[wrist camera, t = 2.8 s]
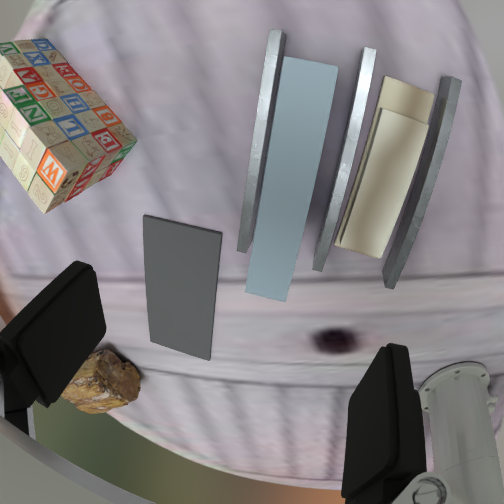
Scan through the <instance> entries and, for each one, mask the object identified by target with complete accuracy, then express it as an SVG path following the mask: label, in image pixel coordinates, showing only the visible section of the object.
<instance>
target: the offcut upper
mask: <svg viewBox="0 0 504 504" xmlns="http://www.w3.org/2000/svg"><path fill="white" fill-rule="evenodd" d="M428 128H429V125H427V124H424V123H422V122H419V121H417V120H414V119H412V118H409V117H406V116H404V115H401V114H398V113H395V112H393V111H390V110H387V109H384V108H381V107H380V110H379V113H378V117H377V121H376V124H375V128H374V132H373V135H372V139H371V142H370V146H369V149H368V152H367V156H366V159H365V162H364V166H363V169H362V172H361V176H360V179H359V182H358V185H357V188H356V191H355V194H354V198H353V201H352V204H351V207H350V210H349V213H348V216H347V219H346V222H345V225H344V227H343V230H342V233H341V236H340V246H341V247H345V248H348V249H352V250H355V251H359V252H362V253H365V254H369V255H372V256H376V257H379V258H381V257H382V255H383V252H384V250H385V248H386V245H387V243H388V240H389V238H390V236H391V233H392V231H393V228H394V226H395V223H396V221H397V218H398V215H399V213H400V210H401V208H402V205H403V202H404V200H405V197H406V194H407V192H408V189H409V186H410V183H411V180H412V177H413V175H414V172H415V169H416V166H417V163H418V160H419V157H420V154H421V151H422V147H423V144H424V141H425V138H426V134H427V131H428Z"/></svg>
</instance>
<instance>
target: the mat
mask: <svg viewBox="0 0 504 504" xmlns="http://www.w3.org/2000/svg"><path fill="white" fill-rule="evenodd" d="M221 242H222V233H221V232H217V231H213V230H209V229H204V228H200V227H196V226H192V225H187V224H183V223H179V222H175V221H170V220H166V219H162V218H157V217H153V216H149V215H144V216H143V243H144V266H145V283H146V297H147V310H148V321H149V331H150V341H151V342H153V343H156V344H159V345H162V346H165V347H168V348H171V349H174V350H177V351H180V352H183V353H186V354H189V355H192V356H195V357H198V358H201V359H205V360H208V361H210V357H211V345H212V333H213V322H214V311H215V301H216V290H217V280H218V270H219V261H220V251H221Z"/></svg>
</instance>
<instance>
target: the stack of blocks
mask: <svg viewBox="0 0 504 504" xmlns="http://www.w3.org/2000/svg"><path fill="white" fill-rule="evenodd" d="M136 142H137V139H136V138H135V137H134V136H133V135H132V134H131V133H130V131H129V130H128V129H127V128H126V127H125V126H124V125H123V124H122V122H121V120H120V119H119V118H118V117H117V116H116V115H115V114H114V113H113V111H112V110H111V109H110V108H109V107H108V106H107V105H106V104H105V102H104V101H103V100H102V99H101V98H100V97H99V96H98V95H97V93H96V92H95V91H94V90H92V89H91V88H90V87H89V86H88V85H87V84H86V83H85V81H84V80H83V79H82V78H81V77H80V76H79V75H78V74H77V73H76V72H75V71H74V70H73V69H72V68H71V66H70V65H69V64H67V61H66V60H65V59H64V58H63V57H62V55H61V54H60V53H59V52H58V51H57V50H56V49H55V48H54V47H53V45H52V44H51V43H50V42H49V41H48V40H47V39H33V40H17V41H13V42H6V43H0V156H1V157H2V159H3V160H4V161H5V163H6V164H7V166H8V167H9V168H10V169H11V170H12V172H13V174H14V175H15V177H16V178H17V179H18V181H19V182H20V183H21V185H22V186H23V187H24V188H25V190H26V191H28V194H29V196H30V197H31V198H32V200H33V201H34V202H35V203H36V205H37V206H38V207H39V208H40V210H41V211H42V212H43V213H44V214H46V213H47V212H49V211H50V210H52V209H53V208H55V207H56V206H58V205H60V204H61V203H62V202H67V201H68V200H70V199H72V198H73V197H75V196H77V195H78V194H80V193H81V192H82V191H84V190H85V189H87V188H89V187H90V186H92V185H94V184H95V183H97V182H99V181H101V180H103V179H104V178H106V177H108V176H110V175H111V174H112V173H113V172H114V171H115V169H116V168H117V167H118V165H119V164H120V163H121V161H122V160H123V158H124V157H125V156H126V154H127V153H128V152H129V151H130V149H131V148H132V147H133V146H134V145H135V143H136Z"/></svg>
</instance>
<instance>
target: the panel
mask: <svg viewBox="0 0 504 504" xmlns="http://www.w3.org/2000/svg"><path fill="white" fill-rule="evenodd" d="M338 68H339V67H337V66H333V65H328V64H323V63H319V62H314V61H308V60H303V59H297V58H292V57H285V56H284V60H283V66H282V72H281V78H280V84H279V90H278V96H277V102H276V108H275V114H274V120H273V126H272V132H271V138H270V144H269V150H268V156H267V162H266V168H265V174H264V180H263V186H262V192H261V198H260V204H259V210H258V216H257V222H256V228H255V234H254V240H253V246H252V252H251V258H250V265H249V271H248V277H247V283H246V289H245V292H247V293H251V294H255V295H258V296H262V297H266V298H270V299H274V300H278V301H282V302H286V298H287V294H288V290H289V286H290V283H291V279H292V275H293V271H294V267H295V263H296V259H297V255H298V251H299V247H300V243H301V239H302V235H303V231H304V227H305V223H306V219H307V214H308V210H309V206H310V202H311V197H312V193H313V189H314V184H315V180H316V176H317V171H318V167H319V162H320V157H321V153H322V148H323V144H324V139H325V134H326V129H327V124H328V120H329V115H330V110H331V105H332V100H333V95H334V89H335V84H336V79H337V74H338Z"/></svg>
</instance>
